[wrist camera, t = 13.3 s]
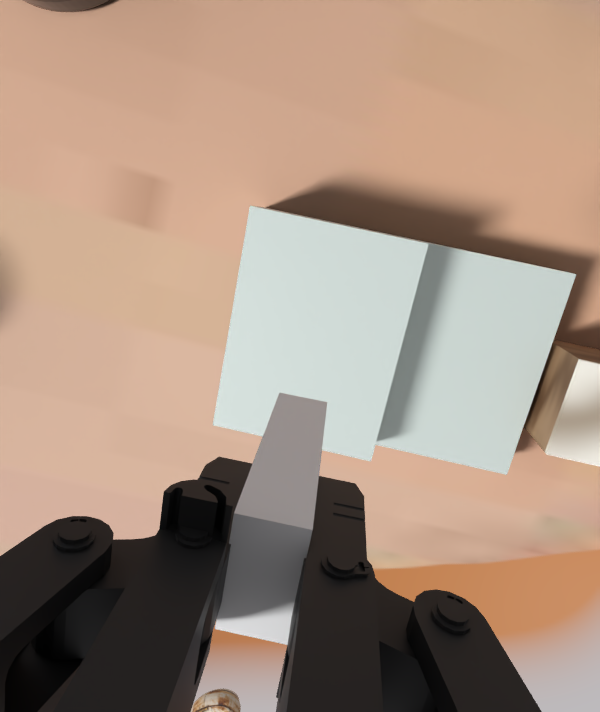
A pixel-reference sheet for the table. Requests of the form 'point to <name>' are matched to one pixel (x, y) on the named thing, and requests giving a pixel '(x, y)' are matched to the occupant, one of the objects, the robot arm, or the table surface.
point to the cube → (568, 404)
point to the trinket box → (217, 702)
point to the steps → (387, 339)
